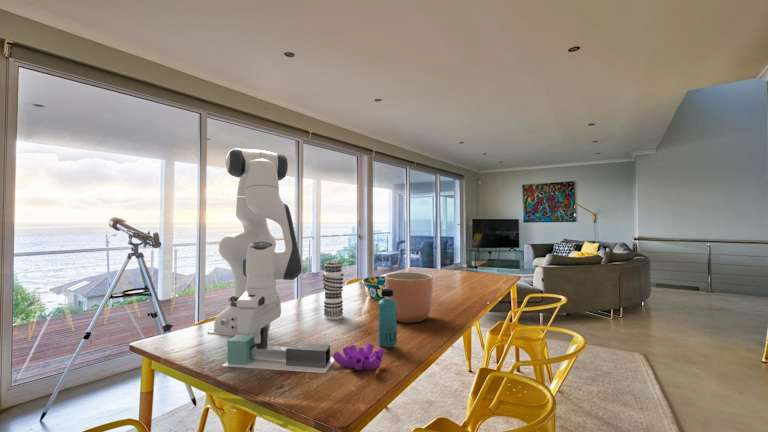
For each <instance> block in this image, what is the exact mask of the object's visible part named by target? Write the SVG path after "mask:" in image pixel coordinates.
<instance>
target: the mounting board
mask: <svg viewBox="0 0 768 432" xmlns="http://www.w3.org/2000/svg"><path fill="white" fill-rule="evenodd" d="M334 362H335V360H334V358H333V356H332V357H331V356H330V362H329V364H328V365H327V366H326V368H315V367H300V366H286V361H282V360H266V359H253V360H252V361H251V362H249V363H248V364H247V365H237V364H228V363H227V361H226V362H225V363H223V364H221V366H222V367H232V368H244V369H245V368H247V369H260V370H262V369H264V370H276V371H291V372H303V373H305V372H306V373H319V374H326V372H327V371H328V370H329V368H330V367H332V364H333V363H334Z"/></svg>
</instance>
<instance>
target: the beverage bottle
mask: <svg viewBox="0 0 768 432" xmlns="http://www.w3.org/2000/svg"><path fill="white" fill-rule="evenodd" d="M380 293H381V297H383V298H381V299H380V300H379V301H378V303H377V304H378V305H377V306H378V330H377V331H378V345H380V346H381V347H394V346H396V345H397V341H398V337H397V336H398V330H397V328H398V325H397V320H396V316H397V314H396V313H397V312H396V301H395V300H394V299H392V298H386V297H390V296H393V290H392V289H385V288H383V289H381V292H380Z"/></svg>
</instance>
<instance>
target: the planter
mask: <svg viewBox="0 0 768 432" xmlns="http://www.w3.org/2000/svg"><path fill="white" fill-rule="evenodd" d="M384 282H385V283H384V284H385V285H384V289H392V290H393V296H390V297H385V298H392V299H394V300H395V301H396V312H397V313H396V314H397V316H396V322H399V323H406V324H414V323H419V322H422V321H424V320H425V319H427V317H429V315H430V313H431V312H432V311H431V310H432V304H433V289H434V277H433V275H432V274H429V273H424V272H415V271H414V272H411V271H401V272H392V273H388V274H386V275H385V276H384Z"/></svg>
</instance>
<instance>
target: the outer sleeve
mask: <svg viewBox="0 0 768 432" xmlns="http://www.w3.org/2000/svg"><path fill="white" fill-rule="evenodd" d="M286 347H287V348H286V366H300V367H315V368H326V366H327V365H328V364H329V362H330V357H331V344H322V343H321V344H320V343H305V342H304V343H303V342H292V343H290V345H289V346H286Z"/></svg>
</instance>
